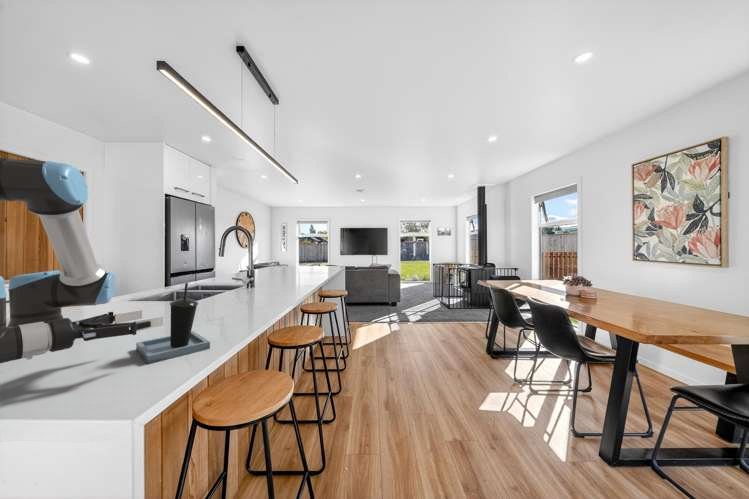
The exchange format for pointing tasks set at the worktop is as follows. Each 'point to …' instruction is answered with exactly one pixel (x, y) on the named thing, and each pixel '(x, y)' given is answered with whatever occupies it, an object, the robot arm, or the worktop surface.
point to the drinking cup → (182, 320)
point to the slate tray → (170, 348)
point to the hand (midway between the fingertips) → (151, 317)
